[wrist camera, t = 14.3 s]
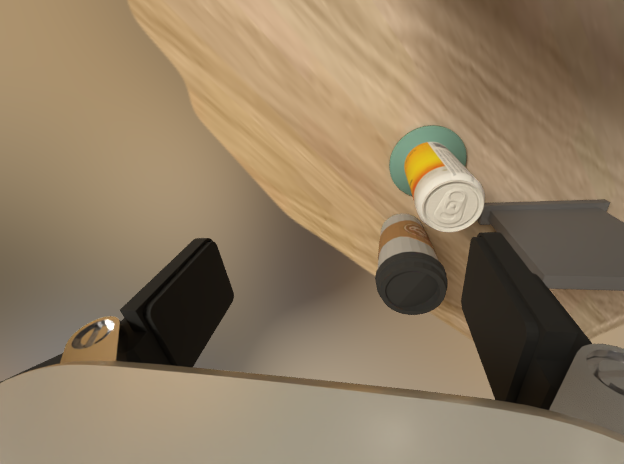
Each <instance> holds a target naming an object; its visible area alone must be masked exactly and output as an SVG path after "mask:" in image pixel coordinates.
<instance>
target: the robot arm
mask: <svg viewBox="0 0 624 464" xmlns="http://www.w3.org/2000/svg"><path fill="white" fill-rule="evenodd" d="M233 298H234V293H233V290H232V287H231V284H230V281H229V278H228V276H227V273H226V270H225V267H224V265H223V261H222V258H221V256H220V253H219V250H218V247H217V245H216V243H215V242H213V241H212V240H211V239H209V238H199V239H198V238H197V239H194V240H193V241H192V242H191V243H190V244H189V245H188V246H187V247H186V248H184V249H183V250H182V251H181V252H180V253H179V254H178V255H177V256H176V257H175V258H174V259H173V260H172V261H171V262H170V263H169V264H168V265H167V266H166V267H165V268H164V269H162V270H161V271H160V272H159V273H158V274H157V275H156V276H155V277H154V278H153V279H152V280H151V281H150V282H149V283H148V284H147V285H146V286H145V287H143V288H142V289H141V290H140V291H139V292H138V293H137V294H136V295H135V296H134V297H133V298H132V299H131V300H130V301H129V302H128V303H127V304H126V305H125V306H124V307H122V308H121V309H120V311H121V313H122V314H123V316H124V319H123V320H122V321H121V322H120V320H119V319H118V318H117V317H114V316H109V317H103V318H99V319H96V320H94V321H92V322H90V323H88V324H86V325H85V326H83V327H82V328H80V329H79V330H78V331H77V332H75V333H74V334H73V335H72V336H71V338H70V339H69V340H68V342H67V344H66V346H65V349H64V352H63V353H62V354H60V355H58V356H56V357H54V358H52V359H49V360H47V361H45V362H43V363H41V364H38V365H36V366H34V367H32V368H30V369H28V370H25V371H23V372H21V373H19V374H17V375H15V376H12V377H10V378H8V379H6V380H4V381H1V382H0V464H624V349H622V348H619V347H617V346H611V345H606V344H592V343H591V341H590V340H589V339H588V338H587V336H586V335H585V334H584V333H583V331H582V330H581V329H580V328H579V326H578V325H577V324H576V323H575V321H574V320H573V319H572V317H571V316H570V315H569V314H568V312H567V311H566V310H565V309H564V307H563V306H562V305H561V304H560V302H559V301H558V300H557V299H556V297H555V296H554V295H553V294H552V292H551V291H550V290H549V288H548V287H547V286H546V285H545V283H544V282H543V281H542V280H541V278H540V277H539V276H538V275H537V274H534V273H532V272H531V271H530V270H529V268H528V267H527V266H526V264H525V263H524V262H523V261H522V259H521V258H520V257H519V255H518V254H517V253H516V252H515V250H514V249H513V248H512V246H511V245H510V244H509V242H508V241H507V240H506V239H505V237H504V236H503V235H502V234H501V233H500V232H488V233H479V234H478V236H477V237H473V238H472V239H471V243H470V249H469V256H468V262H467V268H466V274H465V280H464V286H463V293H462V299H461V304H462V310H463V313H464V315H465V318H466V321H467V324H468V326H469V329H470V332H471V335H472V337H473V340H474V343H475V345H476V348H477V351H478V354H479V356H480V359H481V362H482V364H483V367H484V370H485V373H486V375H487V378H488V381H489V383H490V386H491V389H492V392H493V395H494V397H495V400H492V399H485V398H477V397H469V396H461V395H452V394H444V393H436V392H428V391H420V390H409V389H400V388H392V387H382V386H372V385H362V384H353V383H343V382H335V381H325V380H315V379H305V378H296V377H285V376H276V375H265V374H255V373H245V372H235V371H224V370H214V369H204V368H193V366H194V364H195V362H196V361H197V359H198V357H199V356H200V354H201V352H202V351H203V349H204V348H205V346H206V344H207V342H208V341H209V339H210V338H211V335H212V334H213V333H214V331H215V329H216V328H217V326H218V325H219V323H220V321H221V320H222V318H223V316H224V315H225V313H226V311H227V310H228V308H229V306H230V305H231V303H232V301H233Z"/></svg>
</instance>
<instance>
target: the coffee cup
mask: <svg viewBox="0 0 624 464" xmlns="http://www.w3.org/2000/svg"><path fill="white" fill-rule="evenodd" d="M375 279H376V285H377V290H378V293H379V295H380V297H381V298H382V300H383V301H384V303H385V304H386V305H387V306H388V307H390V308H391V309H393V310H394V311H396V312H399V313H402V314H408V315H417V314H423V313H427V312H429V311H431V310H434V309H435V308H436V307H438V306H439V305H440V304H441V302H442V301H443V300H444V297H445V294H446V290H447V277H446V272H445V269H444V267H443V266H442V264H441V263H440V262H439V260H438V258H437V256H436V253H435V251H434V248H433V246H432V244H431V242H430V240H429V238H428V236H427V234H426V232H425V230H424V229H423V226H422V224H421V222H420V221H419V220H418V219H417V218H415V217H414V216H412V215H409V214H396V215H394V216H391V217H390V218H388V219H387V220H386V221H385V222H384V224H383V226H382V229H381V236H380V242H379V253H378V270H377V272H376V277H375Z"/></svg>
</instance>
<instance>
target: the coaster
mask: <svg viewBox="0 0 624 464" xmlns="http://www.w3.org/2000/svg"><path fill="white" fill-rule="evenodd" d="M425 142H437V143H440V144H442V145H444V146H445V147H446V148H447V149H448V150H449V151H450V152H451V153H452V154H453V155H454V156H455V157H456V158H457V159H458V160H459V161H460V162H461V163H462V164H463V165H464V167H465V165H466V149H465V146H464V144H463V142H462V140H461V139H460V138H459V136H458V135H457V134H455V133H454V132H453V131H451V130H449V129H447V128H445V127H441V126H435V125H432V126H423V127H420V128H417V129H415V130H413V131H411V132H409V133H408V134H406V135H405V136H404V137H403V138H402V139H401V140H400V141H399V142H398V143H397V144H396V146H395V148H394V149H393V151H392V154H391V157H390V164H389V166H390V174H391V177H392V180H393V182H394V183H395V185H396V186H397V187H398V188H399V189H400V190H401V191H403V192H404V193H406V194H408V195H411V196H412V193H411V190H410V187H409V183H408V180H407V177H406V174H405V170H404V163H405V160H406V157H407V155H408V154H409V152H410V151H411V150H412V149H413V148H415V147H416V146H418V145H420V144H422V143H425Z"/></svg>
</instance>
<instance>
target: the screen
mask: <svg viewBox="0 0 624 464" xmlns="http://www.w3.org/2000/svg"><path fill="white" fill-rule="evenodd" d="M609 204H610V202H608V201H607V200H573V201H540V202H506V203H484V207H483V211H482V213H481V215H480V217H479V218H478V223H479V224H480V225H487V224H491V225H492V226H493V227H494V229H495V230H496V231H497V232H500V233H501V234H502V235H503V236H504V237H505V239H506V240H507V241H508V242H509V244H510V245H511V246H512V248H513V249H514V250H515V252H516V253H517V254H518V255H519V257H520V258H521V259H522V261H523V262H524V263H525V264H526V266H527V267H528V268H529V270H530V271H531V272H532V273H534V274H537V275H538V276H539V277H540V278H541V280H542V281H543V282H544V283H545V285H546V286H547V287H548V288H551V289H585V290H619V291H624V222H622V221H620V220H619V219H617V218H615V217H614V216H612V215H610V214H609V213H607V212H606V211H607V209H608V207H609Z"/></svg>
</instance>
